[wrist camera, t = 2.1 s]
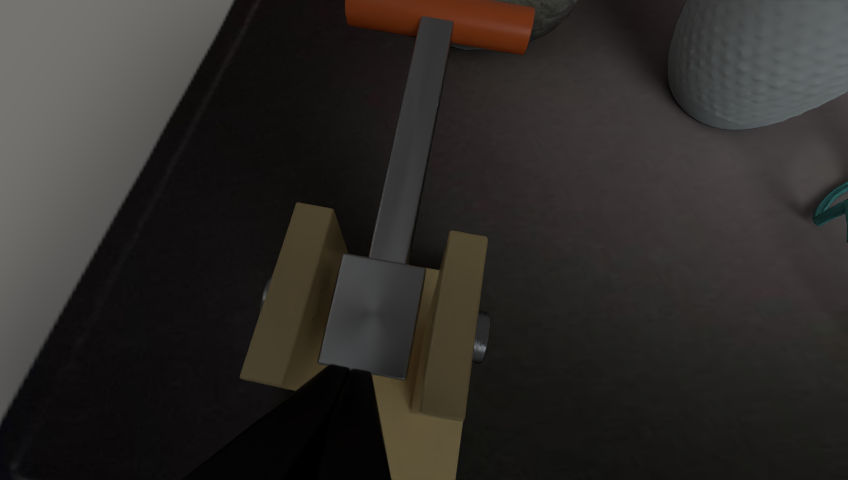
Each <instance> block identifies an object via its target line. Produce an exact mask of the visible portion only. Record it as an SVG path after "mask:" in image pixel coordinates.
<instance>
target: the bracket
mask: <svg viewBox="0 0 848 480" xmlns="http://www.w3.org/2000/svg"><path fill="white" fill-rule="evenodd" d="M487 243H488V238H487V237H485V236H479V235H474V234H468V233H463V232H457V231H450V232H449V235H448V239H447V243H446V247H445V251H444V255H443V259H442V262H441V266H440V270H435V269H430V268H426V276H425V282H424V288H423V294H422V299H421V304H420V310H419V315H418V321H417V326H416V332H415V337H414V343H413V348H412V354H411V359H410V365H409V370H408V375H407V378H406V380H398V379H393V378H388V377H383V376H377V375H372V377H373V383H374V388H375V394H376V399H377V404H378V410H379V415H380V421H381V426H382V431H383V437H384V442H385V448H386V453H387V458H388V464H389V469H390V475H391V479H392V480H455V478H456V471H457V463H458V455H459V448H460V440H461V433H462V425H463V420H464V419H465V412H466V405H467V397H468V389H469V381H470V374H471V366H472V362H473V363H478V364H480V363H482V362H483V360H484V357H485V354H486V351H487V346H488V341H489V334H490V315H489V313H488V312H485V311H480V310H479V305H480V297H481V289H482V281H483V274H484V266H485V258H486V251H487ZM343 253H348V251H347V248H346V245H345V242H344V239H343V236H342V233H341V230H340V227H339V224H338V221H337V218H336V215H335V212H334V210H333V209H331V208H326V207H320V206H314V205H309V204H303V203H296V206H295V209H294V212H293V215H292V218H291V221H290V224H289V227H288V230H287V233H286V236H285V239H284V242H283V245H282V248H281V252H280V255H279V258H278V261H277V264H276V267H275V270H274V273H273V275H272V276H271V277H270V279H269V280H268V282H267V284H266V286H265V289H264V292H263V295H262V299H261V305H260V316H259V319H258V322H257V325H256V328H255V331H254V334H253V337H252V340H251V343H250V346H249V349H248V352H247V355H246V359H245V362H244V365H243V368H242V371H241V374H240V378H241V379H243V380H248V381H253V382H257V383H262V384H266V385H271V386H276V387H280V388H285V389H289V390H294V391H296V390H297V389H298V388H300V387H301V386H302V385H303V384H305V383H306V382H307V381H309V380H310V379H311V378H312V377H314V376H315V375H316V374H317V373H319V372H320V371H321V370H323V369H324V368H325V367H326V366H325V365H319V364H318V363H317V360H318V355H319V351H320V347H321V343H322V338H323V334H324V330H325V326H326V321H327V317H328V313H329V309H330V304H331V300H332V296H333V292H334V287H335V283H336V279H337V275H338V270H339V266H340V262H341V258H342V255H343ZM353 255H354V254H353ZM364 257H365V256H364ZM413 266H414V265H413ZM424 268H425V267H424Z"/></svg>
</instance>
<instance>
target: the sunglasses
mask: <svg viewBox="0 0 848 480" xmlns="http://www.w3.org/2000/svg"><path fill="white" fill-rule="evenodd" d="M847 191H848V182H846V183H844V184H842V185H840V186H839V187H837V188H836V189H835V190H833V191H832V192H830V193H829V194H828V195H827V196H826V197H825V198H824V199H823V200H822V202H821V203H820V204H819V205H818V207H817V208H816V210H815V212H814V215H813V218H812V219H813V221H814V223H815V224H816V225H817V226H821V225H823V224H825V223H827V222H828V221H830V220H832V219H834V218H836V217H839V216H841V215H843V214H845V215H846V221H847V242H848V199H847V200H845V201H843V202H841V203H838V204H837V205H835V206H833V207H831V208H829V209H827V208H828V207H829V205H830V204H831V203H832V202H833V201H834V200H835V199H837V198H838V197H839V196H840V195H841V194H843V193H845V192H847Z"/></svg>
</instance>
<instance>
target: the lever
mask: <svg viewBox="0 0 848 480" xmlns="http://www.w3.org/2000/svg"><path fill="white" fill-rule="evenodd" d="M345 14H346V20H347V23H348V25H350V26H354V27H360V28H366V29H372V30H378V31H383V32H389V33H395V34H401V35H407V36H413V37H416V39H415V44H414V49H413V53H412V58H411V62H410V67H409V71H408V76H407V80H406V85H405V90H404V94H403V99H402V103H401V108H400V112H399V117H398V121H397V126H396V131H395V135H394V140H393V144H392V149H391V153H390V158H389V162H388V167H387V171H386V176H385V181H384V185H383V190H382V194H381V199H380V203H379V208H378V212H377V217H376V222H375V226H374V231H373V235H372V240H371V244H370V249H369V253H368V257H364V256H359V255H353V254H348V253H343V255H342V258H341V262H340V266H339V270H338V275H337V279H336V283H335V287H334V292H333V296H332V300H331V304H330V309H329V313H328V317H327V321H326V326H325V330H324V334H323V338H322V343H321V347H320V351H319V355H318V360H317V363H318V364H319V365H325V366H328V365H330V364H335V365H340V366H346V367H348V368H349V369H350V370H351V369H353V368H356V369H361V370H367V371H370V372H371V374H372V375H377V376H383V377H388V378H393V379H398V380H406V378H407V375H408V370H409V365H410V359H411V354H412V348H413V343H414V337H415V332H416V326H417V321H418V315H419V310H420V304H421V299H422V294H423V288H424V282H425V276H426V268H424V267H419V266H413V265H409V260H410V255H411V250H412V245H413V239H414V234H415V229H416V224H417V219H418V214H419V209H420V203H421V198H422V193H423V188H424V183H425V178H426V173H427V167H428V162H429V157H430V152H431V147H432V142H433V137H434V131H435V126H436V121H437V116H438V111H439V106H440V101H441V95H442V90H443V85H444V80H445V75H446V70H447V65H448V59H449V54H450V49H451V44H452V43H454V44H459V45H465V46H471V47H477V48H483V49H489V50H494V51H500V52H506V53H512V54H518V55H524V53H525V51H526V49H527V46H528V43H529V39H530V35H531V31H532V27H533V22H534V16H535V8H534V7H529V6H523V5H517V4H512V3H506V2H500V1H494V0H345Z"/></svg>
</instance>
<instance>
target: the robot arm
mask: <svg viewBox="0 0 848 480" xmlns="http://www.w3.org/2000/svg"><path fill="white" fill-rule="evenodd" d="M182 480H391V475H390V469H389V464H388V458H387V453H386V448H385V442H384V437H383V431H382V426H381V421H380V415H379V410H378V404H377V399H376V394H375V388H374V383H373V377H372V374H371V372H370V371H367V370H361V369H356V368H353V369H351V370H350V369H349V368H348V367H346V366H340V365H335V364H330V365H328V366H326V367H325V368H324V369H323V370H321V371H320V372H319V373H317V374H316V375H315V376H314V377H312V378H311V379H310V380H309V381H307V382H306V383H305V384H303V385H302V386H301V387H300V388H298V389H297V390H296V391H294V392H293V393H292V394H291V395H289V396H288V397H287V398H286V399H284V400H283V401H282V402H280V403H279V404H278V405H277V406H275V407H274V408H273V409H271V410H270V411H269V412H268V413H266V414H265V415H264V416H263V417H261V418H260V419H259V420H257V421H256V422H255V423H254V424H252V425H251V426H250V427H249V428H247V429H246V430H245V431H243V432H242V433H241V434H240V435H238V436H237V437H236V438H234V439H233V440H232V441H231V442H229V443H228V444H227V445H226V446H224V447H223V448H222V449H220V450H219V451H218V452H217V453H215V454H214V455H213V456H211V457H210V458H209V459H208V460H206V461H205V462H204V463H203V464H201V465H200V466H199V467H197V468H196V469H195V470H194V471H192V472H191V473H190V474H188V475H187V476H186V477H185V478H183V479H182Z"/></svg>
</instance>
